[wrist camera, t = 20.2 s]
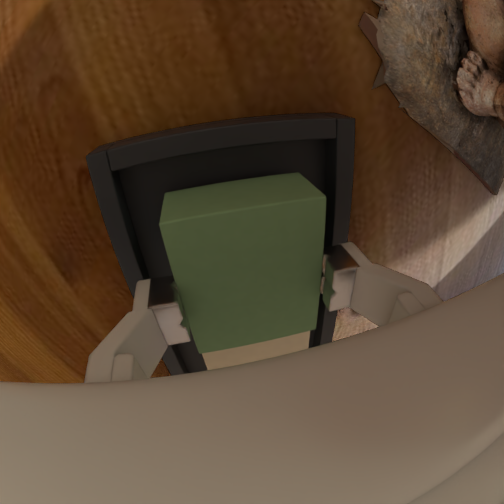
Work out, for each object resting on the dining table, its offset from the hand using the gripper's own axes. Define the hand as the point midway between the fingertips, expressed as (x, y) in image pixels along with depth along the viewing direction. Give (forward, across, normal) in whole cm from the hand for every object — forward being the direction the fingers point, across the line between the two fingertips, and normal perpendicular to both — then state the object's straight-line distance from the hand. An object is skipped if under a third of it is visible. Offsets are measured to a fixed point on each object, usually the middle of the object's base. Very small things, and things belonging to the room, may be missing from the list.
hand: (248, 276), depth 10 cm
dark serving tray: (+3, 0, +3) cm, 4 cm away
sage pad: (+2, 0, 0) cm, 2 cm away
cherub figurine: (+3, -17, -11) cm, 20 cm away
